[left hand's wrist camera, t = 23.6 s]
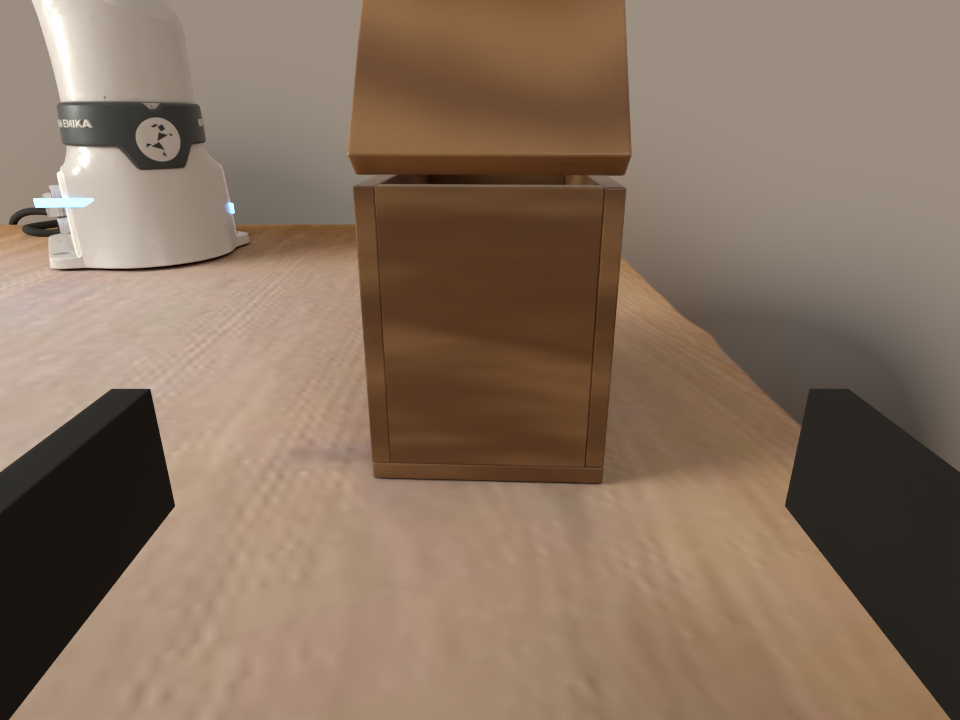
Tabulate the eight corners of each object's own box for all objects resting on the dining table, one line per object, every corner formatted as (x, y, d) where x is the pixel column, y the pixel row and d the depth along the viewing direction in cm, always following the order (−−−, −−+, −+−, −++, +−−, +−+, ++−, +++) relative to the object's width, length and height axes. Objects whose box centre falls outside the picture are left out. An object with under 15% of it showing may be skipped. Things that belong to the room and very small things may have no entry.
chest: (424, 343, 39) (418, 156, 35) (568, 345, 39) (578, 156, 35) (373, 478, 25) (352, 185, 20) (602, 484, 24) (627, 187, 20)
